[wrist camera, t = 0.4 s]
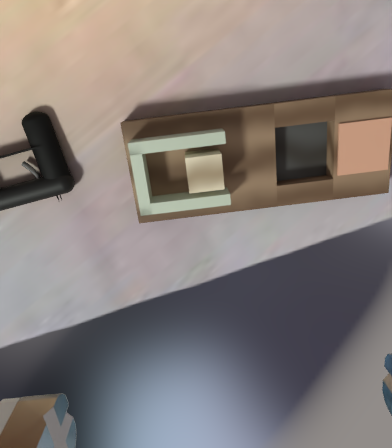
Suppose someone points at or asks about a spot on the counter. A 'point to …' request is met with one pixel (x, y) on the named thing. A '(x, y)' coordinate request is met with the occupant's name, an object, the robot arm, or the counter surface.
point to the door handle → (47, 161)
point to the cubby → (176, 200)
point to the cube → (204, 170)
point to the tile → (363, 146)
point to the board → (267, 152)
